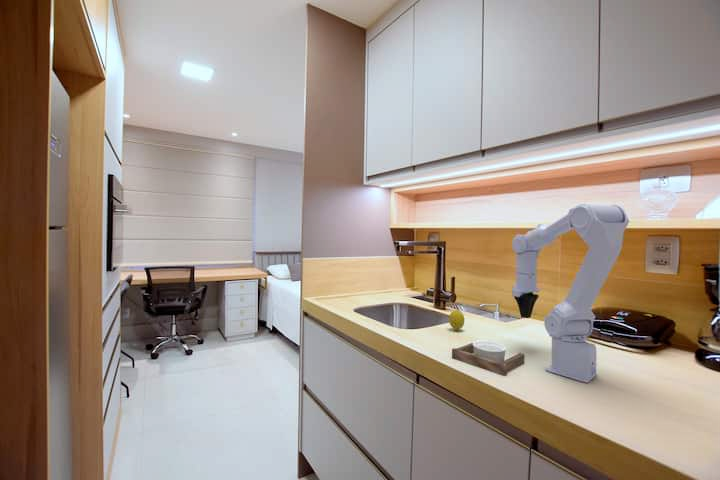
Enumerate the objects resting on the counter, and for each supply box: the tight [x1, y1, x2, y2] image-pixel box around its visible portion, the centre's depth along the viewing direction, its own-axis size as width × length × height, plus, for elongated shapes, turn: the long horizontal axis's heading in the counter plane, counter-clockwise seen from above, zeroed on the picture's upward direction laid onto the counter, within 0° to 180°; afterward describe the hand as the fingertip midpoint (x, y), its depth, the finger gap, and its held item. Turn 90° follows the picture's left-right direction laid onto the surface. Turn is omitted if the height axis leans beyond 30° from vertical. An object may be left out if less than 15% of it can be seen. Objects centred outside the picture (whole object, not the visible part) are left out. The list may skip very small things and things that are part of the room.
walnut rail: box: [451, 341, 525, 377], centre depth 91 cm, size 16×13×2 cm
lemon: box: [448, 309, 465, 331], centre depth 121 cm, size 6×6×8 cm
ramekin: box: [472, 340, 507, 363], centre depth 91 cm, size 9×9×4 cm
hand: (525, 317), depth 99 cm, fingers closed
